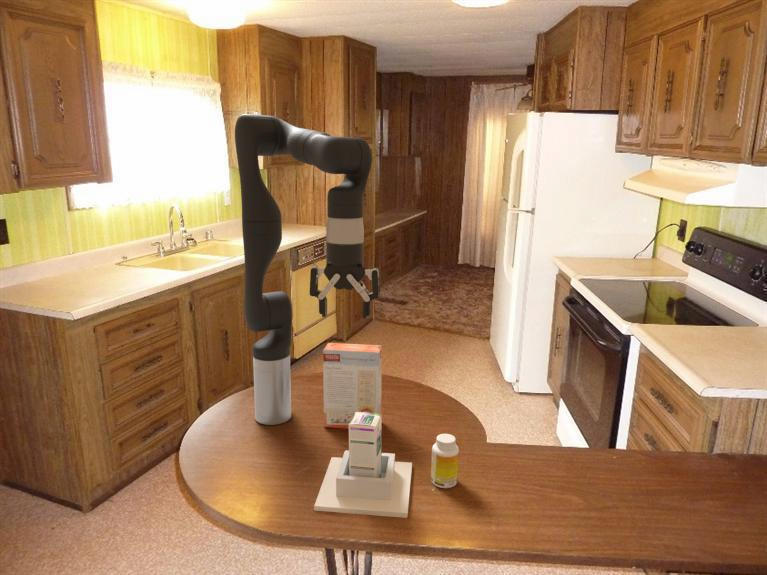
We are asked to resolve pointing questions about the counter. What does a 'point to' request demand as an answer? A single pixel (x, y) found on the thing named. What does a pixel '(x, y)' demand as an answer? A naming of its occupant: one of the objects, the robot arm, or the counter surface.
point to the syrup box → (365, 445)
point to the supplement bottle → (444, 461)
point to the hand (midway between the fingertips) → (344, 316)
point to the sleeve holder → (366, 489)
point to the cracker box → (351, 382)
